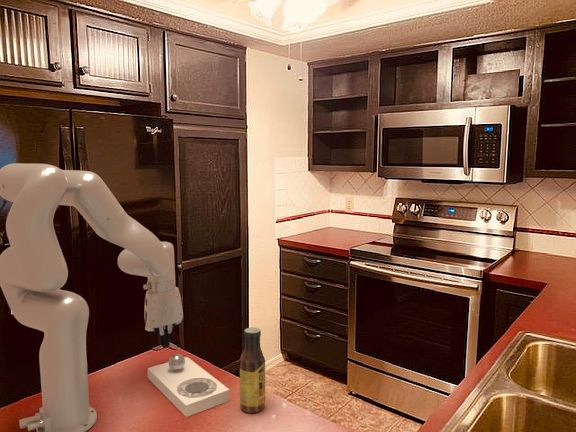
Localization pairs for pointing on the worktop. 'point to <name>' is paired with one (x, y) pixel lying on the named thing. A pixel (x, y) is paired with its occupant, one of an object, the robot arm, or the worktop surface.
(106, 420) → the worktop surface
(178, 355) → the ball
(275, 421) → the worktop surface
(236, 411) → the worktop surface
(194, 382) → the deck
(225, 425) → the worktop surface
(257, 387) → the sauce bottle
